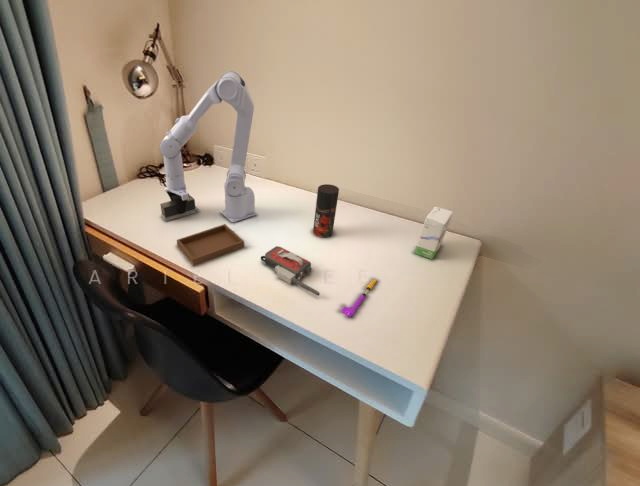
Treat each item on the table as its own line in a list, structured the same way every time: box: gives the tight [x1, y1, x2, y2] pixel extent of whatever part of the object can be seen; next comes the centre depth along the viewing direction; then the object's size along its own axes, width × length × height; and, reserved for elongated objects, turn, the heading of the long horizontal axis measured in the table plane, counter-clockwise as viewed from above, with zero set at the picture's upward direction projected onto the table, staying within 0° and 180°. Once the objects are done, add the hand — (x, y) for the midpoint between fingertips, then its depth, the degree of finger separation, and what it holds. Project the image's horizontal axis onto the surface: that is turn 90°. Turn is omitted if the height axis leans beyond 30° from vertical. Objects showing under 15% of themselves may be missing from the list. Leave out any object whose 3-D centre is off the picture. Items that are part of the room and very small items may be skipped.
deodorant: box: [312, 183, 340, 239], centre depth 105 cm, size 6×6×15 cm
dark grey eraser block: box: [159, 195, 199, 222], centre depth 119 cm, size 12×4×5 cm, turn 121°
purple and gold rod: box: [340, 278, 377, 318], centre depth 86 cm, size 3×1×16 cm
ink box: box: [414, 206, 454, 260], centre depth 98 cm, size 8×5×12 cm, turn 140°
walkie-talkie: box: [260, 246, 320, 296], centre depth 92 cm, size 9×4×20 cm
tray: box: [176, 223, 245, 267], centre depth 104 cm, size 16×11×2 cm
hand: (179, 210), depth 120 cm, fingers closed on dark grey eraser block, 3 cm apart
